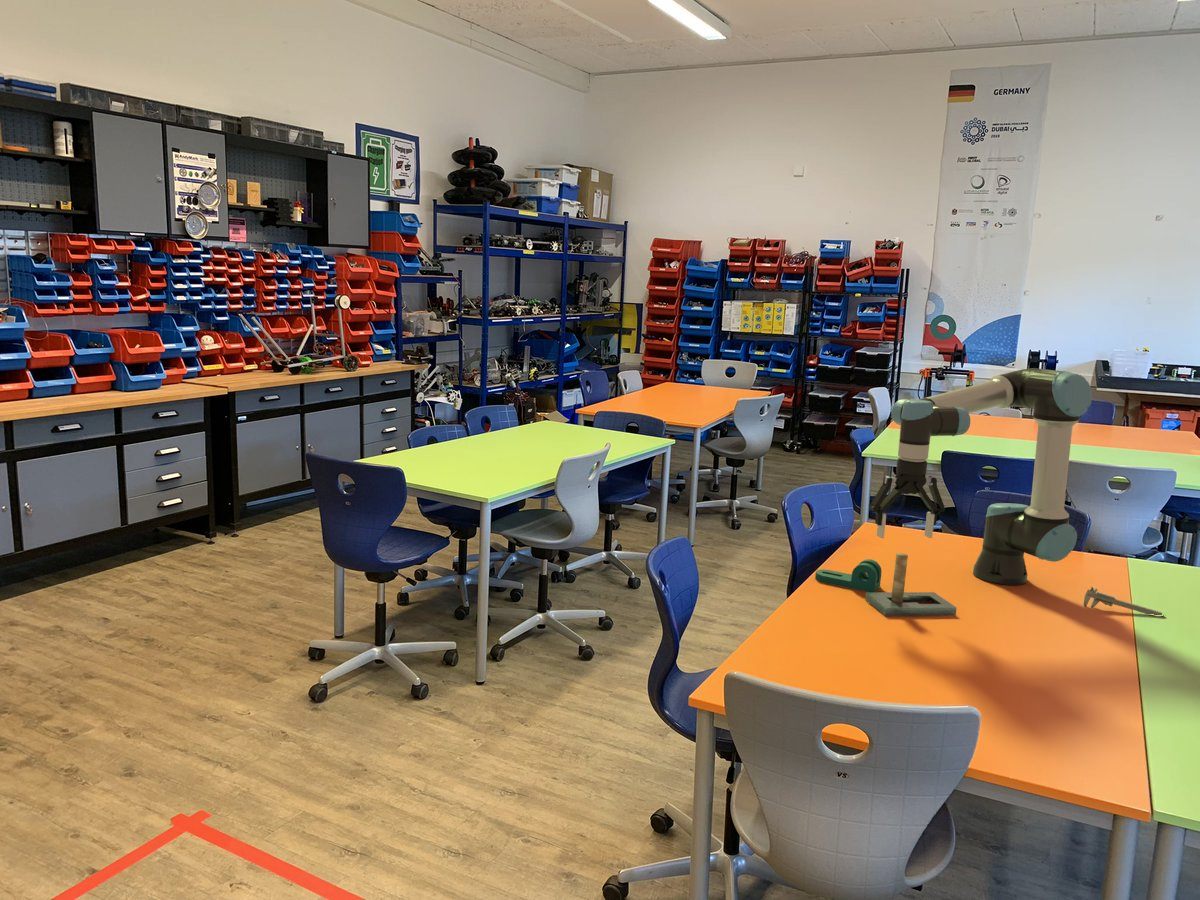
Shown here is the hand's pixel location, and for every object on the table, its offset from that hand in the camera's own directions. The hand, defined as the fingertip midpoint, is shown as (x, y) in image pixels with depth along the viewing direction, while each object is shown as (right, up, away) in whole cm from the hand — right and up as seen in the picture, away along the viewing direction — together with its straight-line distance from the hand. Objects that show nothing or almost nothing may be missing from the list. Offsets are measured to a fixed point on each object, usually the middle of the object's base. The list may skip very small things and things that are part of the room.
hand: (904, 536), depth 234 cm
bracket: (-9, -16, +22) cm, 29 cm away
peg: (-1, -20, +4) cm, 20 cm away
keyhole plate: (+3, -20, +4) cm, 20 cm away
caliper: (+64, -22, +9) cm, 68 cm away
